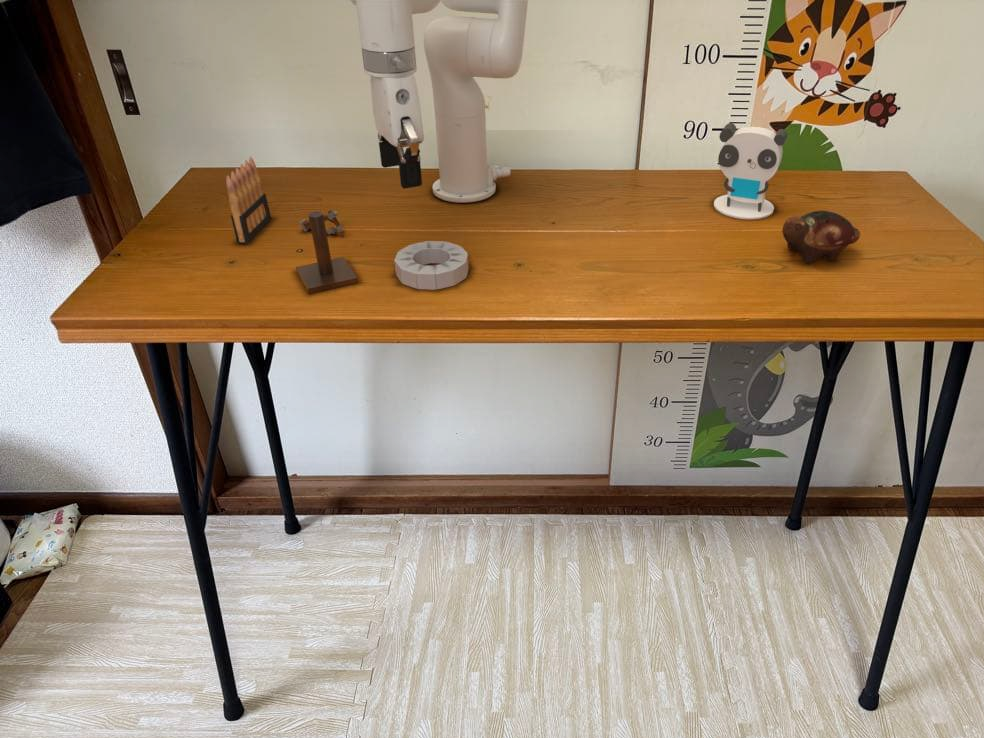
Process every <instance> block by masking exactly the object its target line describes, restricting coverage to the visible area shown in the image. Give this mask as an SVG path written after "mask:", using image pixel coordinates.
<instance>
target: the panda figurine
mask: <svg viewBox="0 0 984 738" xmlns="http://www.w3.org/2000/svg"><path fill="white" fill-rule="evenodd" d="M718 138H719V140H720V141H721V142H722V143H724V144H723V145H722V147H721V149H720V151H719V153H718V158H717V162H718V166H719V168H720V171H721V172H722V174H723V175H724V177H726V179H725V180H724V181H723V186H724V189H725V190H727V194H724V195H720V196H718V197H716V198H715V199H714V202H713V207H714V209H715V210H716V211H717V212H719V213H720V214H722V215H724V216H727V217H730V218H734V219H738V220H739V219H740V220H760V219H765V218H768V217H770V216H771V215H772V214H773V213H774V210H775V206H774V204H773V203H772V202H771V201H769V200H767V199H766V192H767V191H768V190H769V182H768V181H769V180H770V179H772V178H773V177H774V175H776V173H777V171H778V170H779V167H780V165H781V163H782V160H783V146H784V145H785V142H786V140H787V138H788V131H787V130H786V129H785V128H784V129H783V128H779V129H778V130H777V131H776V132H774V131H773V130H772V129H769V128H765V127H760V126H744V127H740V128H738V129H737V126H736V124H734V123H733V122H728V123H726V125H724V127H723V128H722V130H721V131H720V133H719V137H718Z"/></svg>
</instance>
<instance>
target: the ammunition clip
mask: <svg viewBox="0 0 984 738" xmlns="http://www.w3.org/2000/svg"><path fill="white" fill-rule="evenodd" d="M226 189H227V194H228V202H229V207H230V211H231V215H230V218H231V223H232V228H233V230H234V235H235V239H236V240H235V241H236V243H237V244H245V245H246V244H249V243H250V242H251V241H252V240H253V239H254V238H255V237H256V236H257V235H258V234H259V233H260V232H261V231H262V230H263V229H264V228H265V227H266V225H268V223H269V222H270V221H271V220H272V215H271V211H270V207H269V202H268V199H267V195H266V193H265V192H264V189H263V185H262V180H261V178H260V176H259V173H258V169H257V166H256V162H255V161H254V159H253V157H252V156H249V158H248V160H246V159H245V160H244V165H243V164H242V163H241V164H240V166H239V168H238V167H236V168H235V172H234V170H233V171H231V172H230V176H229V174H228V175H226Z"/></svg>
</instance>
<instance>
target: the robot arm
mask: <svg viewBox="0 0 984 738" xmlns="http://www.w3.org/2000/svg"><path fill="white" fill-rule="evenodd" d="M349 1H350V3H352V4H353V5H354V6H356V13H357V21H358V30H359V39H360V45H361V55H362V56H361V57H362V63H363V70H364V73H365V75H368V76H369V77H370V80H369V81H370V92H371V104H372V111H373V120H374V125H375V129H376V130H377V139H378V141H379V142H378V147H379V156H380V164H381V167H382V168H392V167H397V166H398V169H399V179H400V187H401V188H402V189H404V190H405V189H411V188H416V187H421V186H422V185H423V179H422V168H421V154H420V153H421V150H420V144H422V143H423V142H424V139H425V138H424V137H425V136H424V127H423V120H422V119H423V118H422V111H421V103H420V98H419V97H420V96H419V92H418V86H417V82H416V77H415V73H416V72H417V69H418V68H417V58H416V57H417V56H416V46H415V33H414V23H413V21H414V20H413V15H416V14H425V13H429V12H431V11H433V10H434V9H435V8H436V7H437V6H438V5H439V4H440V2H441V3H442V4H443V6H444V7H446V8H447V9H449V10H452V11H456V12H465V13H475V14H477V13H478V14H495V15H498V16H497V18H486V17H485V18H484V17H483V18H482V17H473V16H457V15H455V16H454V15H450V16H448V15H447V16H446V15H445V16H440V17H437V18H435V19H433V20H432V21H430V22H429V24H427V26H426V28H425V31H424V34H423V49H424V53H425V59H426V63H427V66H428V67H427V68H428V70H429V75H430V76H429V77H430V81H431V87H432V96H433V109H434V119H435V120H434V121H435V122H434V123H435V131H436V132H435V133H436V148H437V160H438V173H439V178H438V179H437V180H435V181H434V182H433V183H432V194H433V195H434V196H435V197H437V198H438V199H440V200H442V201H446V202H450V203H461V204H462V203H463V204H464V203H465V204H467V203H476V202H480V201H483V200H486V199H488V198H490V197H492V196H493V195H494V194H495V193H496V190H497V184H496V182H495V181H497V179H499V178H507V177H510V176H511V168H510V167H509V166H503V167H500V166H499V164H493V165H488V147H487V146H488V145H487V118H486V116H487V115H486V114H487V113H486V99H485V95H484V93H483V91H482V89H481V87H480V86H479V84H478V82H477V81H476V79H475V78H486V79H487V78H488V79H510V78H513V77H515V76H516V75H517V74H518V72H519V70H520V67H521V64H522V59H523V51H524V41H525V32H526V22H527V14H528V4H529V0H349ZM404 148H406V149H405V150H404Z"/></svg>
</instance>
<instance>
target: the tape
mask: <svg viewBox="0 0 984 738" xmlns="http://www.w3.org/2000/svg"><path fill="white" fill-rule="evenodd" d="M393 260H394V268H395V276H396V278H397V279H398V280H399V281H400V282H401V284H403V285H404V286H408V287H410V288H412V289H416V290H428V291H429V290H432V291H433V290H434V291H436V290H440V289H445V288H450V287H453V286H456V285H458V284H459V283H461V282H462V281H464V280H465V279H466V278H468V273H469V269H470V267H469V265H470V264H469V253H468V252H467V251H466V250H465V249H464V248H463V246H461V245H459V244H456V243H452V242H449V241H443V240H437V241H436V240H426V241H420V242H416V243H412V244H409V245H407V246H405V247H404V248H402V249H400V250H399V251H397V253H396V255H395V257H394V259H393ZM429 264H434V265H429Z"/></svg>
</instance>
